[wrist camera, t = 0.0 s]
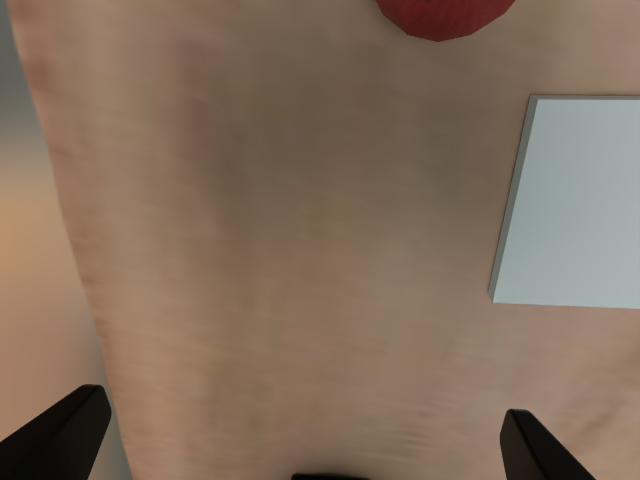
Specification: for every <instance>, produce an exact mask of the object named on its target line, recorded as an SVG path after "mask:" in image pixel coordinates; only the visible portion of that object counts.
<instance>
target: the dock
mask: <svg viewBox="0 0 640 480" xmlns="http://www.w3.org/2000/svg"><path fill="white" fill-rule="evenodd" d="M488 294H489V296H490V298H491V300H492V303H511V304H536V305H561V306H586V307H611V308H636V309H640V96H590V95H530V99H529V104H528V109H527V113H526V118H525V122H524V127H523V132H522V136H521V141H520V146H519V150H518V155H517V160H516V164H515V169H514V174H513V178H512V183H511V188H510V192H509V197H508V201H507V206H506V211H505V215H504V220H503V225H502V229H501V234H500V239H499V243H498V248H497V253H496V257H495V262H494V267H493V271H492V276H491V280H490V285H489V290H488Z"/></svg>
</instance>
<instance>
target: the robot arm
mask: <svg viewBox="0 0 640 480" xmlns="http://www.w3.org/2000/svg"><path fill="white" fill-rule="evenodd" d="M110 419H111V407H110V404H109V401H108V398H107V395H106V392H105V389H104V388H103V387H102V386H101V385H92V384H85V385H82V386H80V387H79V388H77V389H76V390H74V391H73V392H71V393H70V394H69V395H67V396H66V397H64V398H63V399H61V400H60V401H58V402H57V403H56V404H54V405H53V406H51V407H50V408H48V409H47V410H46V411H44V412H43V413H41V414H40V415H39V416H37V417H35V418H34V419H33V420H31V421H30V422H28V423H27V424H25V425H24V426H23V427H21V428H20V429H18V430H17V431H15V432H14V433H12V434H11V435H10V436H8V437H7V438H5V439H4V440H2V441H1V442H0V480H87V479H88V477H89V474H90V472H91V469H92V467H93V464H94V461H95V459H96V456H97V454H98V451H99V448H100V446H101V443H102V441H103V438H104V435H105V433H106V430H107V428H108V425H109V422H110ZM500 446H501V452H502V457H503V462H504V467H505V473H506V478H507V480H596V479H595V478H594V477H593V476H592V475H591V474H590V473H589V472H588V471H587V470H586V469H585V468H584V467H583V466H582V465H581V464H580V463H579V462H578V461H577V460H576V458H575V457H574V456H573V455H572V454H571V453H570V452H569V451H568V450H567V449H566V448H565V447H564V446H563V445H562V444H561V443H560V442H559V441H558V440H557V439H556V438H555V437H554V436H553V435H552V434H551V433H550V432H549V431H548V430H547V428H546V427H545V426H544V425H543V424H542V423H541V422H540V421H539V420H538V419H537V418H536V417H535V416H534V415H533V414H532V413H531V412H529V411H528V410H524V409H509V410H508V411H507V412H506V415H505V418H504V422H503V425H502V429H501V432H500ZM291 480H351V479H337V478H323V477H309V476H293V477H292V478H291Z"/></svg>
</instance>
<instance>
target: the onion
mask: <svg viewBox="0 0 640 480" xmlns="http://www.w3.org/2000/svg"><path fill="white" fill-rule="evenodd" d="M514 1H515V0H376V2H377V4H378V6H379V7H380V9H381V11H382V13H383V15H385V16H386V17H387V18H388V19H389V20H391V21H392V22H393V23H394V24H395V25H397V26H398V27H399V28H400V29H401V30H403V31H404V32H405V33H406V34H407V35H411V36H415V37H419V38H424V39H428V40H432V41H437V42H440V41H444V40H449V39H454V38H458V37H463V36H468V35H471V34H473V33H474V32H476V31H477V30H479V29H481V28H482V27H484V26H485V25H487V24H488V23H490V22H491V21H493V20H495V19H496V18H498V17H499V16H501V15H502V14H504V13H505V12H506V11H507V10H508V8H509V7H510V6H511V5H512V4H513V3H514Z"/></svg>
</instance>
